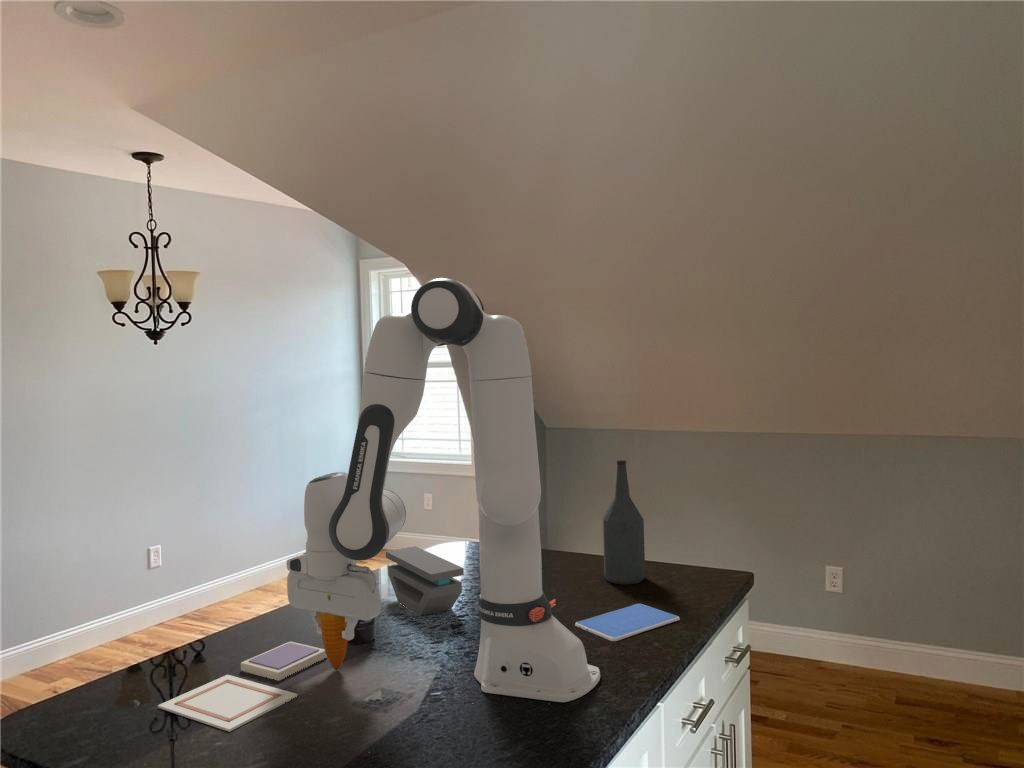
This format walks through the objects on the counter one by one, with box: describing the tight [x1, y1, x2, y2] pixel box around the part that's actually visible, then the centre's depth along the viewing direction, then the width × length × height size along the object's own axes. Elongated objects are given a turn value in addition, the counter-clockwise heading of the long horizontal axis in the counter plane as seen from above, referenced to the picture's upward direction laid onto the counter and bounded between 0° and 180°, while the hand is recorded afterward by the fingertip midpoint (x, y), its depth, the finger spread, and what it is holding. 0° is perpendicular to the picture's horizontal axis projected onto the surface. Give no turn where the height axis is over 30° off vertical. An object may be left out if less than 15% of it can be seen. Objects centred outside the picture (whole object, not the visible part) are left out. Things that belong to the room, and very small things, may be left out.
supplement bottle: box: [347, 617, 376, 646], centre depth 157 cm, size 7×7×12 cm
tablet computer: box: [574, 603, 681, 642], centre depth 163 cm, size 19×13×1 cm, turn 125°
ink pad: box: [240, 641, 328, 682], centre depth 146 cm, size 10×12×2 cm
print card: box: [157, 674, 299, 732], centre depth 130 cm, size 18×14×1 cm
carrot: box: [320, 595, 348, 671], centre depth 142 cm, size 5×5×15 cm
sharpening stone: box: [385, 545, 465, 617], centre depth 178 cm, size 25×8×11 cm, turn 32°
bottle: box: [602, 459, 646, 585], centre depth 193 cm, size 10×10×30 cm
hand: (335, 636), depth 142 cm, fingers closed on carrot, 5 cm apart
